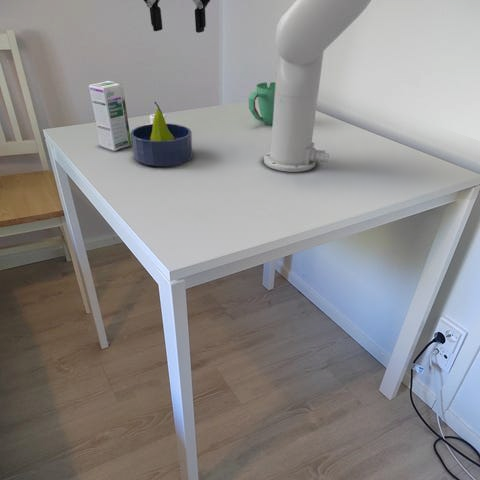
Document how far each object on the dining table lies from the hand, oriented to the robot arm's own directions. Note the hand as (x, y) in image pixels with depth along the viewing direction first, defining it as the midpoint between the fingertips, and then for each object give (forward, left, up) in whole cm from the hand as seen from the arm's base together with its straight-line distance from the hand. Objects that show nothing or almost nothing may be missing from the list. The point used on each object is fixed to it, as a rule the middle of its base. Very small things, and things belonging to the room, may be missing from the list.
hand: (178, 31), depth 90 cm
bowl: (+4, +4, -26) cm, 26 cm away
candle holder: (+14, -14, -26) cm, 33 cm away
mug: (-12, -33, -26) cm, 44 cm away
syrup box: (+19, +1, -26) cm, 32 cm away
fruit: (+4, +4, -25) cm, 26 cm away
